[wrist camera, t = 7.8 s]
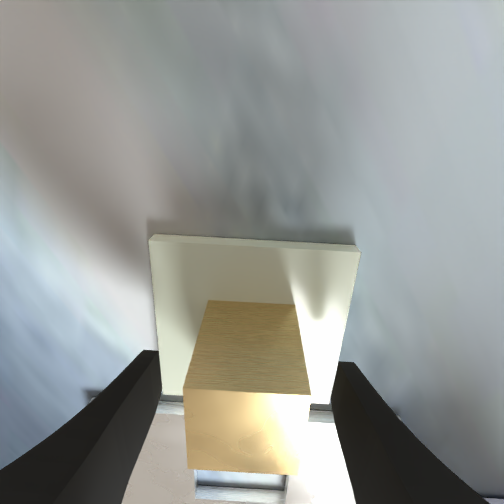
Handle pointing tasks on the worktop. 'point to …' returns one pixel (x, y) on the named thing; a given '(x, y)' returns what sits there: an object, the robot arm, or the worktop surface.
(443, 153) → the worktop surface
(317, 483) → the rail plate
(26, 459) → the robot arm
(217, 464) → the light wood cube
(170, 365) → the tile
